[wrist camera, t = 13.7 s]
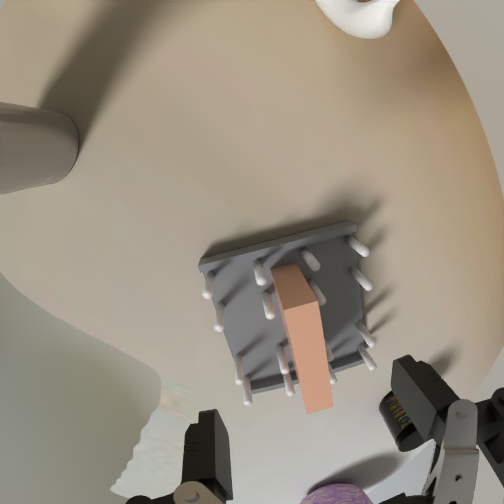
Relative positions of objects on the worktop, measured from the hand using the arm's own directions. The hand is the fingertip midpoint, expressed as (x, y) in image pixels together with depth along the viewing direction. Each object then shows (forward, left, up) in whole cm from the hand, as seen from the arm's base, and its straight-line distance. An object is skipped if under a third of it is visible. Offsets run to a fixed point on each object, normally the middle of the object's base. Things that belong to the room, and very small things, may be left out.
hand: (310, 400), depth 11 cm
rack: (+2, -10, -24) cm, 26 cm away
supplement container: (+17, -35, -24) cm, 45 cm away
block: (+2, -10, -23) cm, 25 cm away
